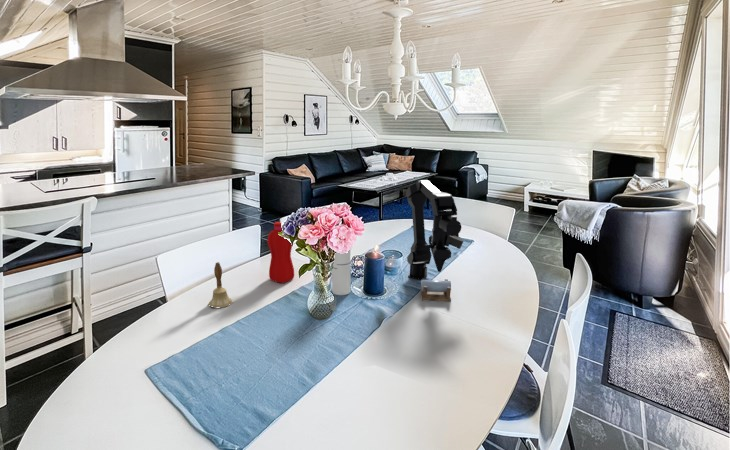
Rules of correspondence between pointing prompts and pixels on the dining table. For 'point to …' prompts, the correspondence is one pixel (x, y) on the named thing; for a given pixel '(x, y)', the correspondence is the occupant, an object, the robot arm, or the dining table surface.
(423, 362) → the dining table surface
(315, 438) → the dining table surface
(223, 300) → the hand bell
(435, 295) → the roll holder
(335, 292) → the cylindrical container
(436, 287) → the cylinder
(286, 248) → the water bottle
